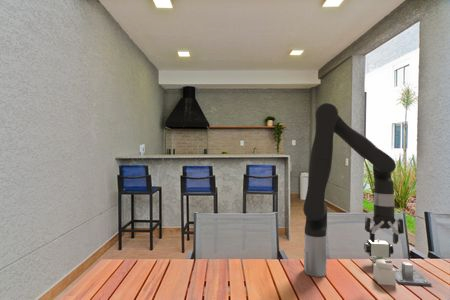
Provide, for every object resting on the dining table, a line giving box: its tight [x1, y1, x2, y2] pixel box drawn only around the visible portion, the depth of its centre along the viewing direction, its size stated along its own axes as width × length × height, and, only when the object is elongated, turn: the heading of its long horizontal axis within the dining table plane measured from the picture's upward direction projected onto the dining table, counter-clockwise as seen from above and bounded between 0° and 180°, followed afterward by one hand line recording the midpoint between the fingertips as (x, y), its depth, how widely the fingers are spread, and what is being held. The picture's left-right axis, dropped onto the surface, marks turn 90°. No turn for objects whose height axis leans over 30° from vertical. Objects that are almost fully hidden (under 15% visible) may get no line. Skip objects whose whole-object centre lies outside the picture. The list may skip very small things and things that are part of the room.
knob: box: [373, 258, 397, 286], centre depth 116 cm, size 6×6×8 cm
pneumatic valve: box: [363, 239, 394, 265], centre depth 133 cm, size 6×12×12 cm, turn 78°
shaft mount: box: [393, 261, 432, 287], centre depth 119 cm, size 12×13×6 cm
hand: (383, 242), depth 116 cm, fingers open, 8 cm apart
